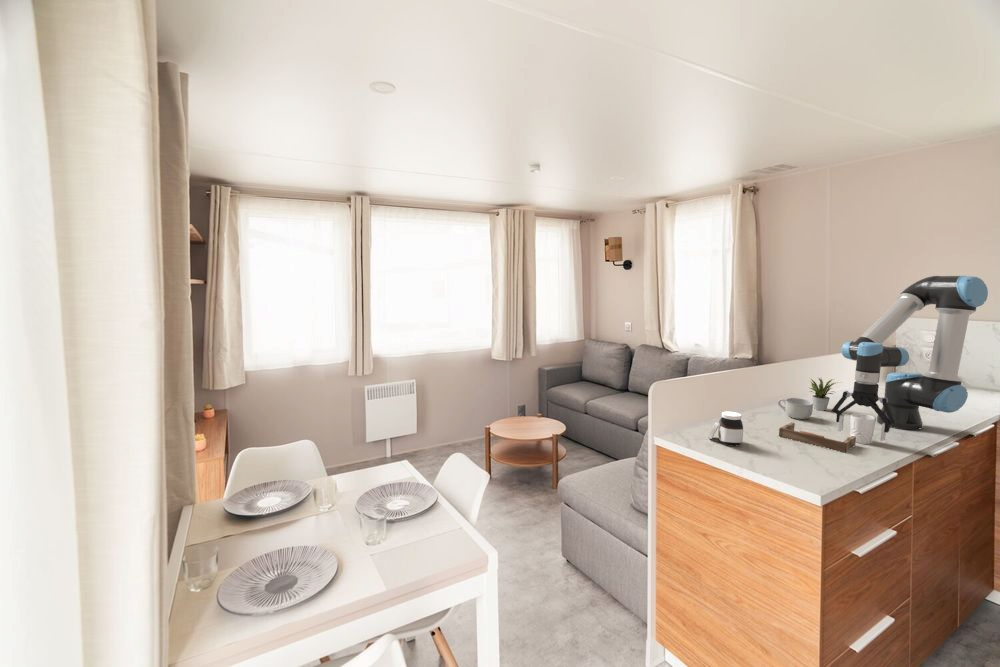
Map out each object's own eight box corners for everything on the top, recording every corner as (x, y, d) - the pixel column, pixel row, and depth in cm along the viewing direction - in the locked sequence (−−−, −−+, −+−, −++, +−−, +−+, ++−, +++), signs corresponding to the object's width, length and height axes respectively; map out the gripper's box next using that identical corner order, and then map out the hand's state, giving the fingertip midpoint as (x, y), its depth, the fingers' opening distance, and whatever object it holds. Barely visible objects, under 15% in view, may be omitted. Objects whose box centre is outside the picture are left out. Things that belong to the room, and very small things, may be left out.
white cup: (878, 445, 180) (880, 420, 179) (854, 443, 182) (857, 418, 180) (866, 438, 188) (868, 414, 187) (844, 437, 189) (846, 413, 188)
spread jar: (744, 448, 177) (746, 418, 176) (713, 446, 179) (714, 416, 177) (734, 437, 189) (736, 409, 188) (704, 435, 191) (706, 408, 189)
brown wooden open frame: (790, 430, 197) (791, 420, 197) (855, 445, 180) (856, 435, 179) (778, 436, 190) (779, 426, 189) (844, 452, 172) (845, 442, 172)
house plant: (842, 409, 229) (845, 376, 227) (839, 415, 218) (842, 381, 216) (807, 404, 238) (810, 372, 236) (803, 409, 228) (806, 376, 226)
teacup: (816, 418, 214) (817, 401, 213) (805, 422, 208) (806, 405, 207) (783, 411, 225) (785, 395, 224) (772, 415, 219) (773, 398, 218)
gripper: (825, 377, 189) (820, 428, 192) (905, 389, 170) (899, 446, 172) (832, 375, 194) (827, 425, 196) (910, 387, 174) (904, 442, 177)
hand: (860, 435), depth 184 cm, fingers open, 13 cm apart
